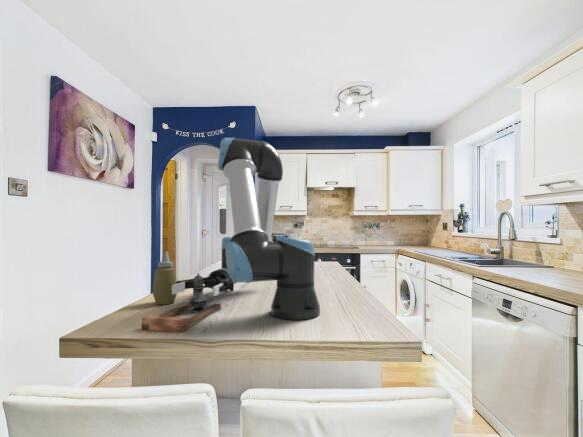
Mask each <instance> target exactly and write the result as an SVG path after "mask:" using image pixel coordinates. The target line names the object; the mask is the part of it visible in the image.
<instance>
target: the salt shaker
mask: <svg viewBox="0 0 583 437" xmlns="http://www.w3.org/2000/svg"><path fill="white" fill-rule="evenodd" d="M203 278H204V277H203V276H201V275H200V273H199V272H198V273H197V274H196V275H195V276H194V277H193V279H194V286H193V287H192V288H191V289H192V297H191V298H189V299H188V301H187V302H189V304H190V306H191V307H192V308H190V309H189V311H188V312H189V313H191V314H198V313H199V312H201V311H203V310H204V309H206V308H205V306H206V304H207V301H208V298H207V297H205V296H204V289H205V288H204V287H203V286H204V284H203Z"/></svg>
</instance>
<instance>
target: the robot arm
mask: <svg viewBox="0 0 583 437" xmlns="http://www.w3.org/2000/svg"><path fill="white" fill-rule="evenodd" d="M217 168H218V170H220V171H222V172H223V175H224V177H225V178H226V179H227V180H228V185H229V186H228V187H229V195H230V203H231V204H230V206H231V214H232V223H233V232H234V234H232V236H224V237H223V238H222V239H221V248H220V249H221V268H218V269H216V270H213V271H211V272H210V273H209V275H207V276H205V277H203V287H204V288H203V289H206V288H208V289H212V297H216V296H218V295H220V294H222V293H223V292H228V291H230V292H233V291H234V290H235V288H234V287H235V286H234V285H235V284H237V283H248V284H249V283H254V282H255V283H256V282H269V281H270V282H271V281H276V289H275V293H274V295H273V300H272V302H271V305H270V314H271V315H272V317H275V318H279V319H283V320H290V321H291V320H292V321H294V320H295V321H299V320H300V321H303V320H309V319H310V320H311V319H313V318H316V317H318V316H320V314H321V306H320V302H319V299H318V296H317V293H316V289H315V256H316V254H315V247H314V246H315V245H314V243H313V242H312V241H310V240H306V239H300V238H291V237H285V236H284V237H283V236H278V237H277V238H276V241H273V240H272V234H273V227H274V220H275V212H276V206H277V198H278V192H279V184H280V183H281V182H282V180H283V174H284V172H283V164H282V159H281V157H280V155H279V153H278V150H276V148H275V147H274V146H272V144H270V143H268V142H267V141H263V140H253V139H247V138H246V139H245V138H238V137H237V138H236V137H224V138H222V139H221V141H220V147H219V154H218V161H217ZM256 174H257V178H258V180H259V183H258V192H256V186H255V180H254V176H256ZM193 286H194V278H188V279H182V280H177V284H175V285H172V294H176V293H177V294H178V293H182V292H184V291H185V290H188V289H193V288H192V287H193Z"/></svg>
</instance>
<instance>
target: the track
mask: <svg viewBox="0 0 583 437" xmlns="http://www.w3.org/2000/svg"><path fill="white" fill-rule="evenodd" d="M221 308H222V306H221V303H213V304H211V305H210V306H208V307H206V308H205V309H204V310H203V311H201V312H199V313H195V314H193V316H190V317H189V318H188V317H177V316H179V315H181V314H182V313H184V312H186V311H188V310H191V309H193V308H192V307H191V306H190V304H189V301H186V302H184V303H182V304H180V305H179V306H176V307H174V308H172V309H170V310H168V311H165V312H163V313H162V314H159V315H144V316H143V317H141V330H142V331H143V330H145V331H146V330H147V331H157V332H158V331H159V332H176V333H185V332H186V331H188V330H189V329H191V328H192V327H194V326H196V325H197V324H199V323H200V322H202V321H203V320H205V319H207V318H208V317H209V316H211V315H213V314H214V313H216V312H217V311H218V310H220V309H221Z"/></svg>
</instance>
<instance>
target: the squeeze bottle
mask: <svg viewBox="0 0 583 437" xmlns="http://www.w3.org/2000/svg"><path fill="white" fill-rule="evenodd" d="M157 264H158V266H157V267H158V268H156V269H155V272H154V279H153V280H154V281H153V288H152V289H153V290H152V296H153V298H154V302H155V304H156V305H160V306H165V305H171V304H173V303H175V300H176V298H177V294H178V293H176V294H172V285H175V284H177V281H178V280H177V270H176V268H175V267H173V266H174V262H173V261H170V255H169V252H168V251H163V254H162V258H161V261H159V262H158V263H157Z"/></svg>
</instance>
